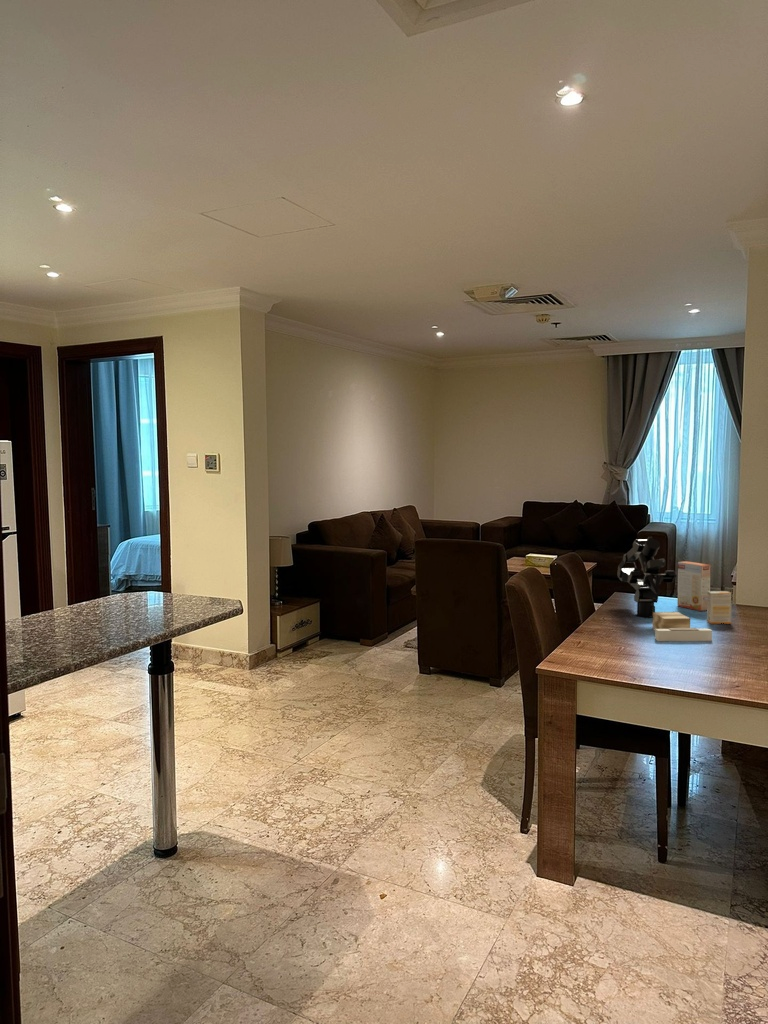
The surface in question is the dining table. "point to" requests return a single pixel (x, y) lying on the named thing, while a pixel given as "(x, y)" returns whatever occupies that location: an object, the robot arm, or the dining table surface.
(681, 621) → the oak block
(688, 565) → the cracker box
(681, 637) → the cream board
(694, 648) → the dining table surface
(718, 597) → the supplement box
